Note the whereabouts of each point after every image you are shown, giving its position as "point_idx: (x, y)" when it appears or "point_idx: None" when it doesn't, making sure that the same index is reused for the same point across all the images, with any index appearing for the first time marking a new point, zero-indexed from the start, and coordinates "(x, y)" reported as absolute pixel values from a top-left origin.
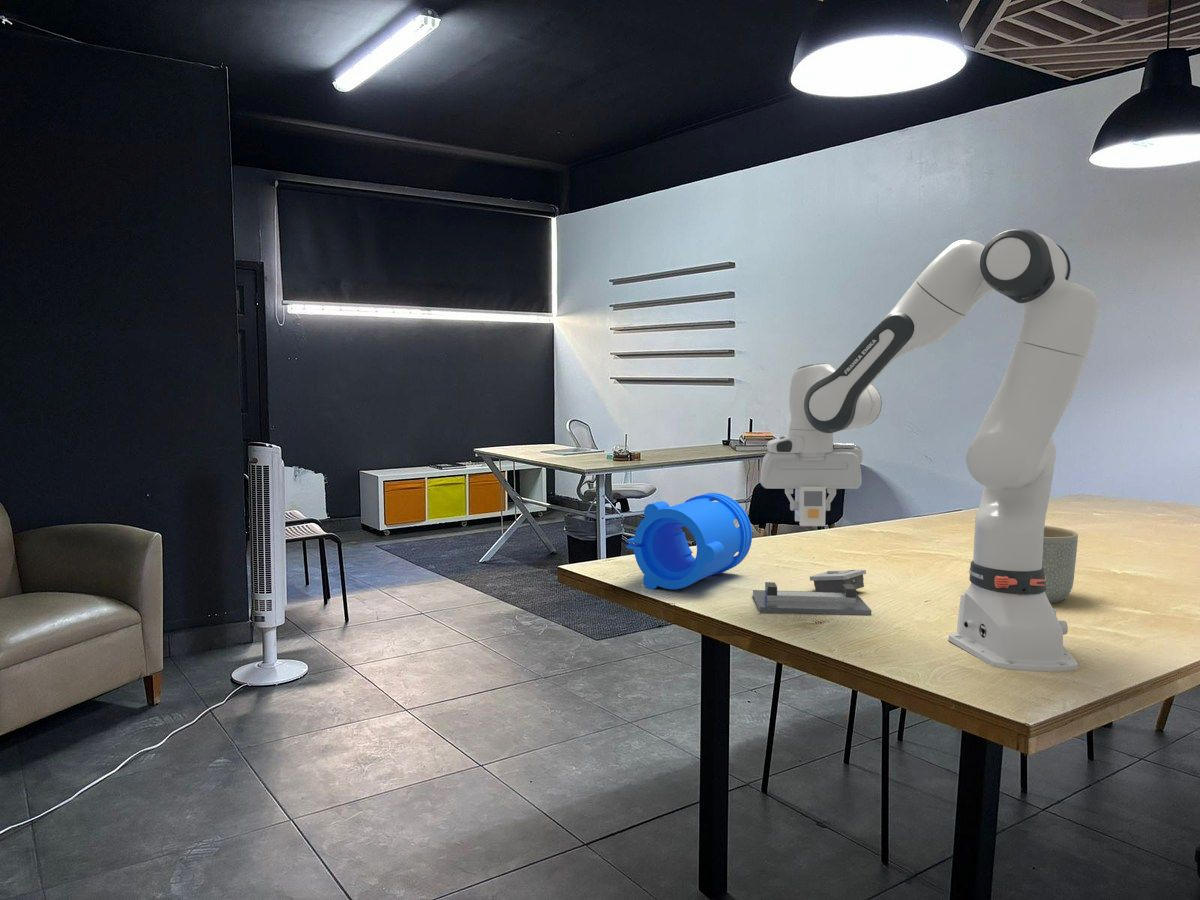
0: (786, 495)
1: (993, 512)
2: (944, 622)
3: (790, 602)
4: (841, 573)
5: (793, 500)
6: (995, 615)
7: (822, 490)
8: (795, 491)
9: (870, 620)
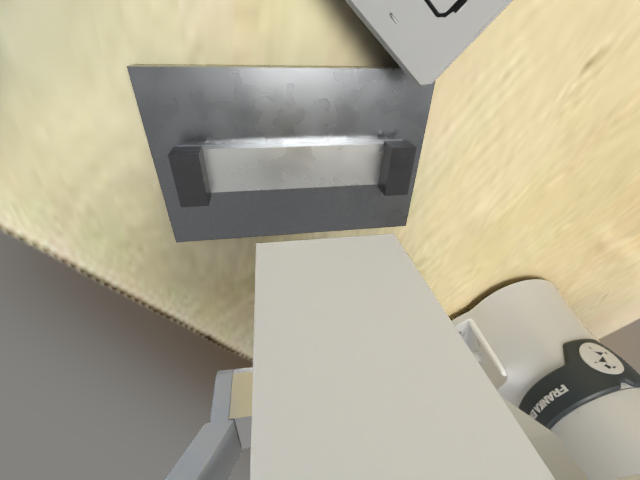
0: (169, 476)
1: None
2: (510, 223)
3: (246, 194)
4: (436, 23)
5: (232, 465)
6: None
7: None
8: (253, 442)
9: (392, 232)
